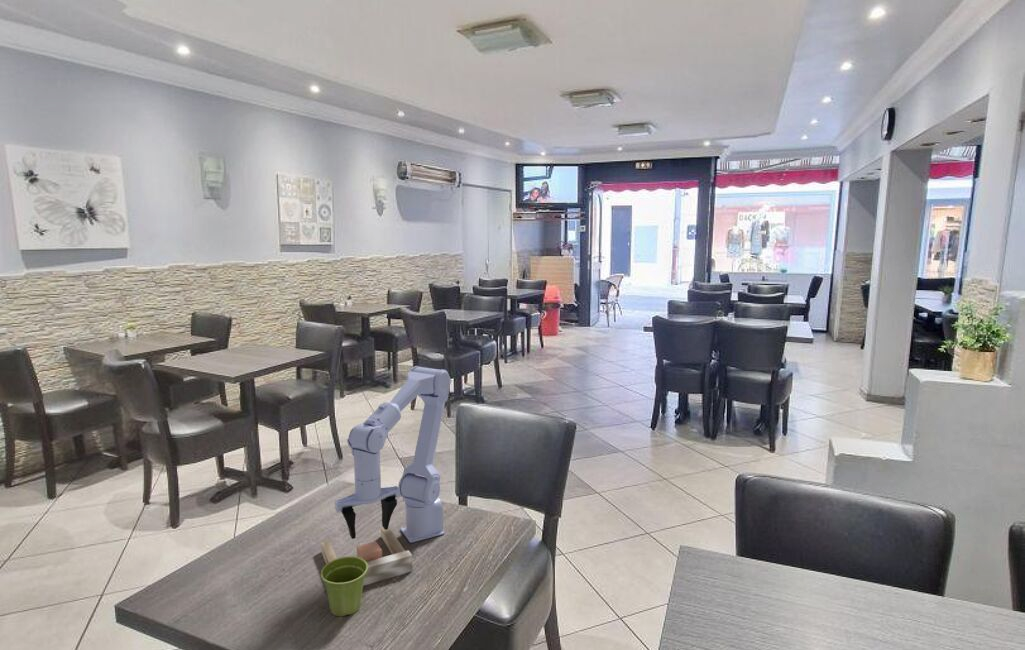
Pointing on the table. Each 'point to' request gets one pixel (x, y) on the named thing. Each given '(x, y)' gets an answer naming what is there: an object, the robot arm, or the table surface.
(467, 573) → the table surface
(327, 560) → the wooden u-shaped frame
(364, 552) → the block
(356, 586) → the plant pot
